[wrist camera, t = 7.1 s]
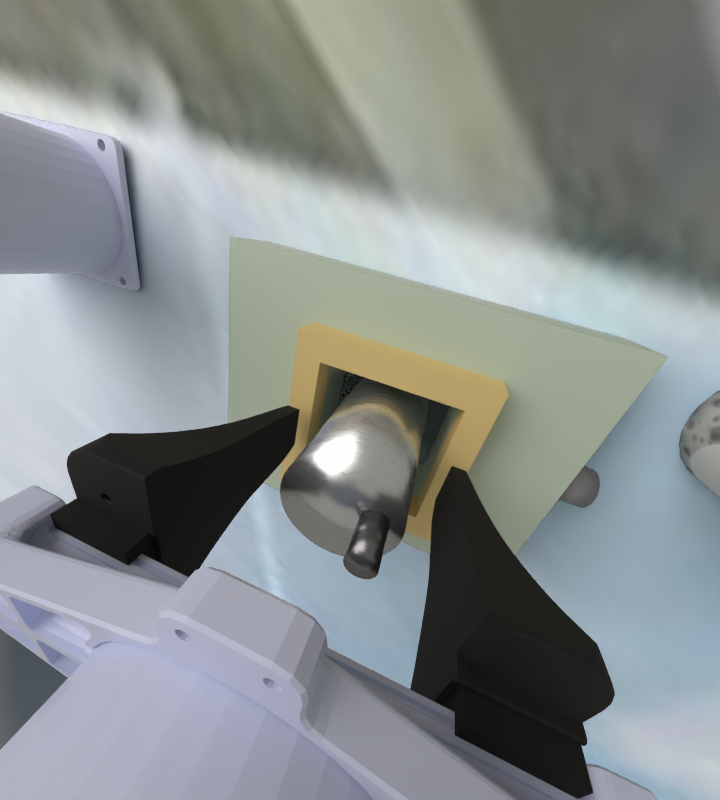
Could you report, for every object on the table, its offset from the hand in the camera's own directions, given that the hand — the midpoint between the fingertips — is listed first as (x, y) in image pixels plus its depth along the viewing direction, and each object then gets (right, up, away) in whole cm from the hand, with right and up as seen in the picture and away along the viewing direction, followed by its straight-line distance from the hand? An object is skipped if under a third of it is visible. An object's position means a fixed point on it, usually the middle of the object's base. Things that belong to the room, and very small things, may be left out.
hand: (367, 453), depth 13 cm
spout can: (+2, +2, +4) cm, 5 cm away
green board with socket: (+2, +2, +5) cm, 5 cm away
